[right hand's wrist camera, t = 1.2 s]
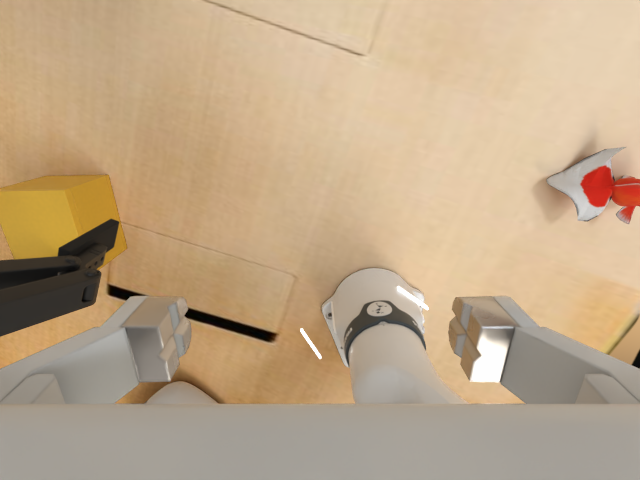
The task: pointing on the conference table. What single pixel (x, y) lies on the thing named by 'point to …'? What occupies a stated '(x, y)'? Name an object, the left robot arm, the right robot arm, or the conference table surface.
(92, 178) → the chest
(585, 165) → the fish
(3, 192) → the yellow panel
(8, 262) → the left robot arm
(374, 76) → the conference table surface
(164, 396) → the white rounded slotted block
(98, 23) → the conference table surface
